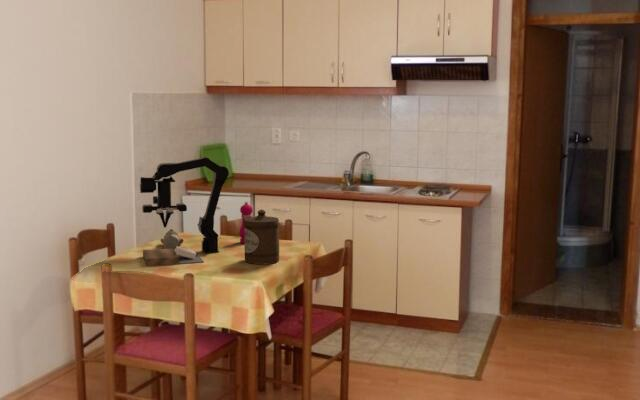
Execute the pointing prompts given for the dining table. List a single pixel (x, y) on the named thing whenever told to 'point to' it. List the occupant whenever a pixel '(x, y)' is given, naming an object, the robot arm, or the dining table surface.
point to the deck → (160, 257)
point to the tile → (185, 252)
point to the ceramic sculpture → (171, 240)
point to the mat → (190, 259)
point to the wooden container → (261, 239)
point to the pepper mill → (246, 213)
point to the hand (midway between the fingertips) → (164, 227)
